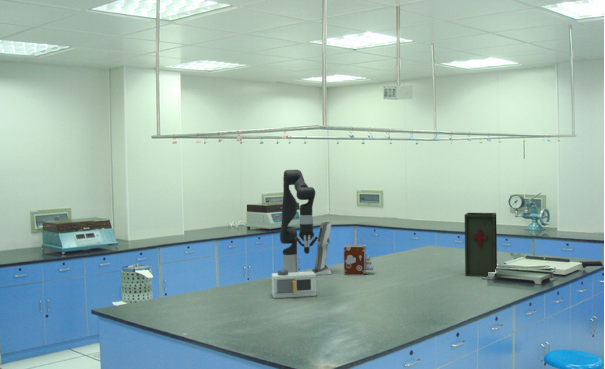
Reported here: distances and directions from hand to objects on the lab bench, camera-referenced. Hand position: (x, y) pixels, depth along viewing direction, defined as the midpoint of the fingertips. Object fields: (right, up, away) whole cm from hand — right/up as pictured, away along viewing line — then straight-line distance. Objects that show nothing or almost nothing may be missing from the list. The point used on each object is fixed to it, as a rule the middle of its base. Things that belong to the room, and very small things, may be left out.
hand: (306, 253), depth 314 cm
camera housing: (-7, -24, +4) cm, 26 cm away
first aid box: (+116, -21, +56) cm, 130 cm away
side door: (-11, -21, -4) cm, 24 cm away
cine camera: (+36, -22, +64) cm, 77 cm away
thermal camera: (+10, -23, +69) cm, 73 cm away
